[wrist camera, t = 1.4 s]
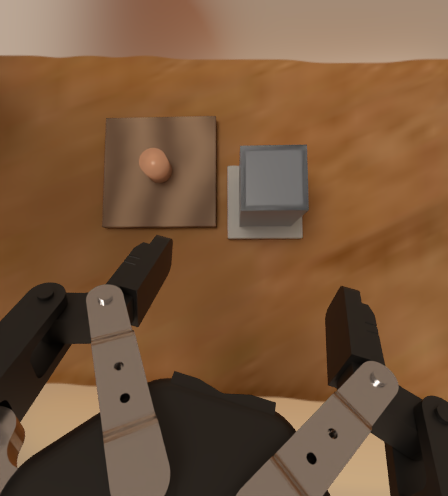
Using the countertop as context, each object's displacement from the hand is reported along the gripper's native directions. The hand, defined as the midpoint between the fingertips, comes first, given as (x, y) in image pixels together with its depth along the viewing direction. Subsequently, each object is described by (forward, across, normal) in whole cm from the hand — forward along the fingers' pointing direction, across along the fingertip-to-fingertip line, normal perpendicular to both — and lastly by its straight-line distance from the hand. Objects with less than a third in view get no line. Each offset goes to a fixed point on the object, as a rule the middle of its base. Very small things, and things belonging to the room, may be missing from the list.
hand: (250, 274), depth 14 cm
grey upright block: (+23, 0, +8) cm, 24 cm away
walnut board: (+23, +14, +8) cm, 28 cm away
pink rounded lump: (+23, +14, +8) cm, 28 cm away
